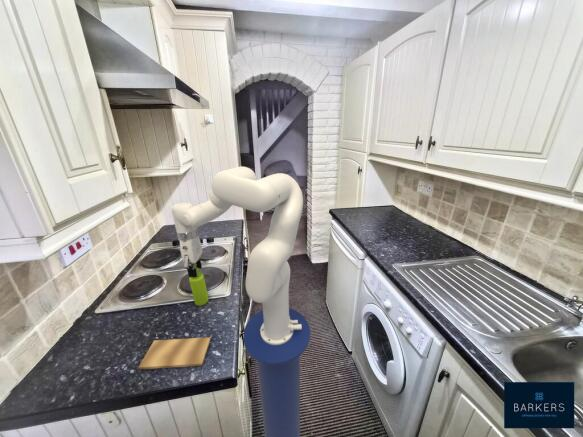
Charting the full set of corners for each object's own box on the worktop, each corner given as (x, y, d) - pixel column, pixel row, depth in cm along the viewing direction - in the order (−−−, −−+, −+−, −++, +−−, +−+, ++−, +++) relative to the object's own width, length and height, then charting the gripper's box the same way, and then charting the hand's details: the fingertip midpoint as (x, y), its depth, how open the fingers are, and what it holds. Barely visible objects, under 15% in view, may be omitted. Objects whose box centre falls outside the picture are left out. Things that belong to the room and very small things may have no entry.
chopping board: (210, 339, 83) (210, 337, 83) (202, 365, 74) (201, 363, 73) (154, 342, 82) (154, 340, 82) (139, 369, 73) (138, 367, 73)
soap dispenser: (205, 292, 106) (197, 256, 98) (210, 301, 101) (202, 263, 93) (192, 298, 103) (183, 261, 95) (197, 307, 98) (187, 269, 90)
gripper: (189, 243, 82) (198, 284, 89) (204, 224, 98) (210, 261, 105) (168, 244, 82) (178, 285, 89) (186, 225, 98) (193, 261, 105)
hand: (195, 272), depth 97 cm, fingers closed on soap dispenser, 5 cm apart
